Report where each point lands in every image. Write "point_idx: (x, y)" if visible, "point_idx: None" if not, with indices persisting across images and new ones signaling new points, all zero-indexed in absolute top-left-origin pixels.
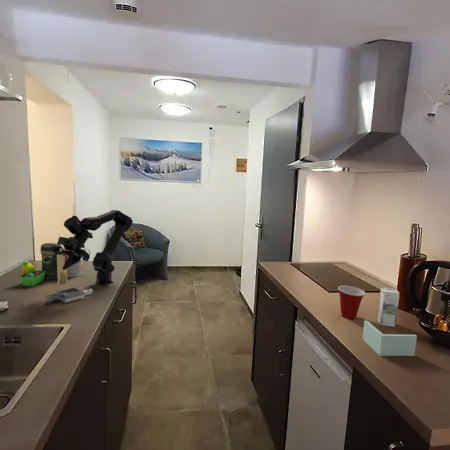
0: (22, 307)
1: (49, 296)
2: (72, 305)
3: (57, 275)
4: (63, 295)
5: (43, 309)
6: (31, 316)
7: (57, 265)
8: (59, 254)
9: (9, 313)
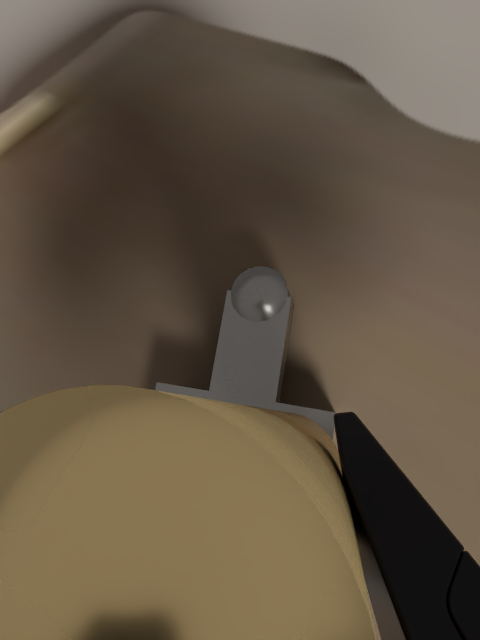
0: (333, 156)
1: (251, 295)
2: (96, 383)
3: (298, 416)
4: (188, 387)
5: (190, 225)
6: (150, 133)
7: (257, 407)
8: (193, 591)
9: (294, 71)
